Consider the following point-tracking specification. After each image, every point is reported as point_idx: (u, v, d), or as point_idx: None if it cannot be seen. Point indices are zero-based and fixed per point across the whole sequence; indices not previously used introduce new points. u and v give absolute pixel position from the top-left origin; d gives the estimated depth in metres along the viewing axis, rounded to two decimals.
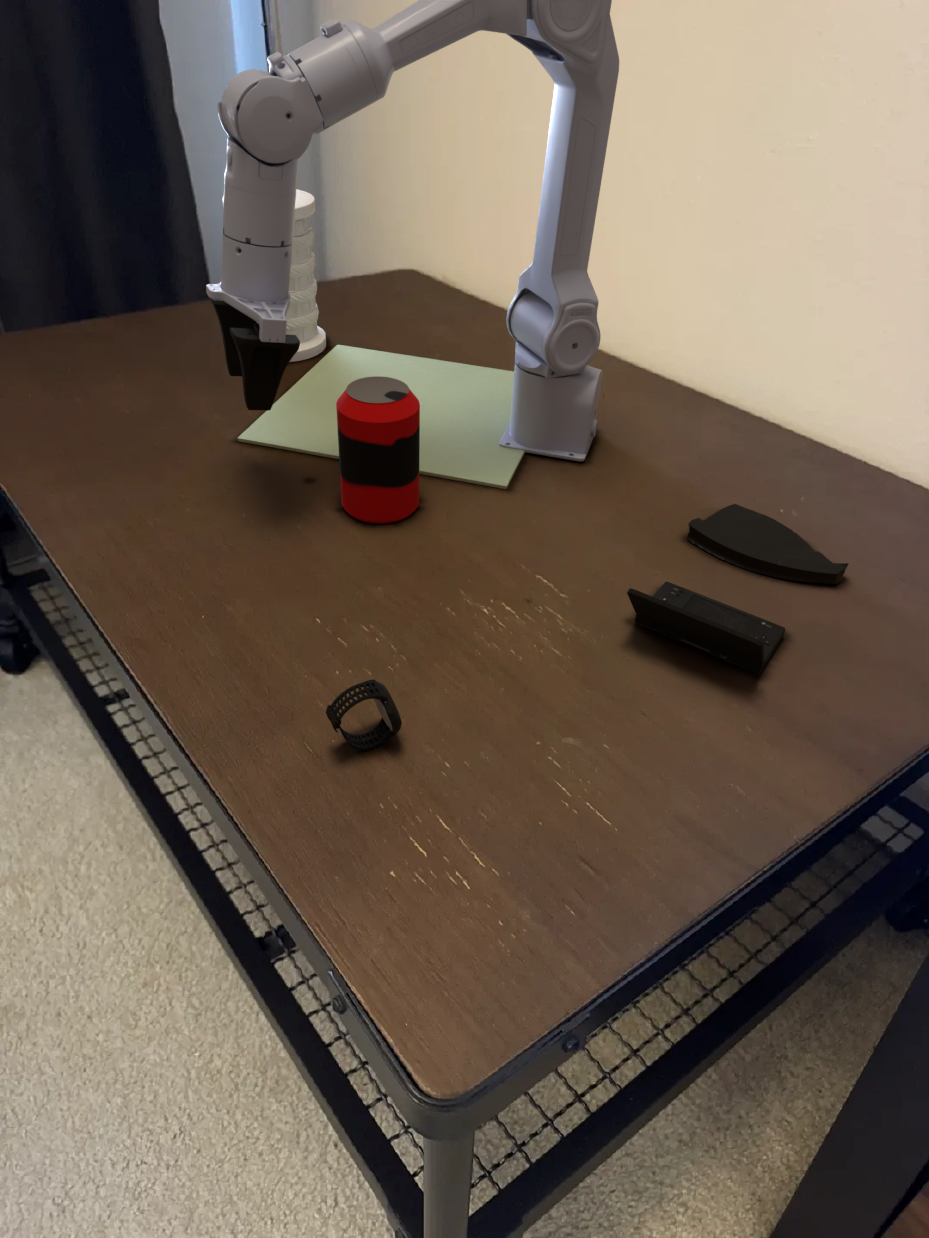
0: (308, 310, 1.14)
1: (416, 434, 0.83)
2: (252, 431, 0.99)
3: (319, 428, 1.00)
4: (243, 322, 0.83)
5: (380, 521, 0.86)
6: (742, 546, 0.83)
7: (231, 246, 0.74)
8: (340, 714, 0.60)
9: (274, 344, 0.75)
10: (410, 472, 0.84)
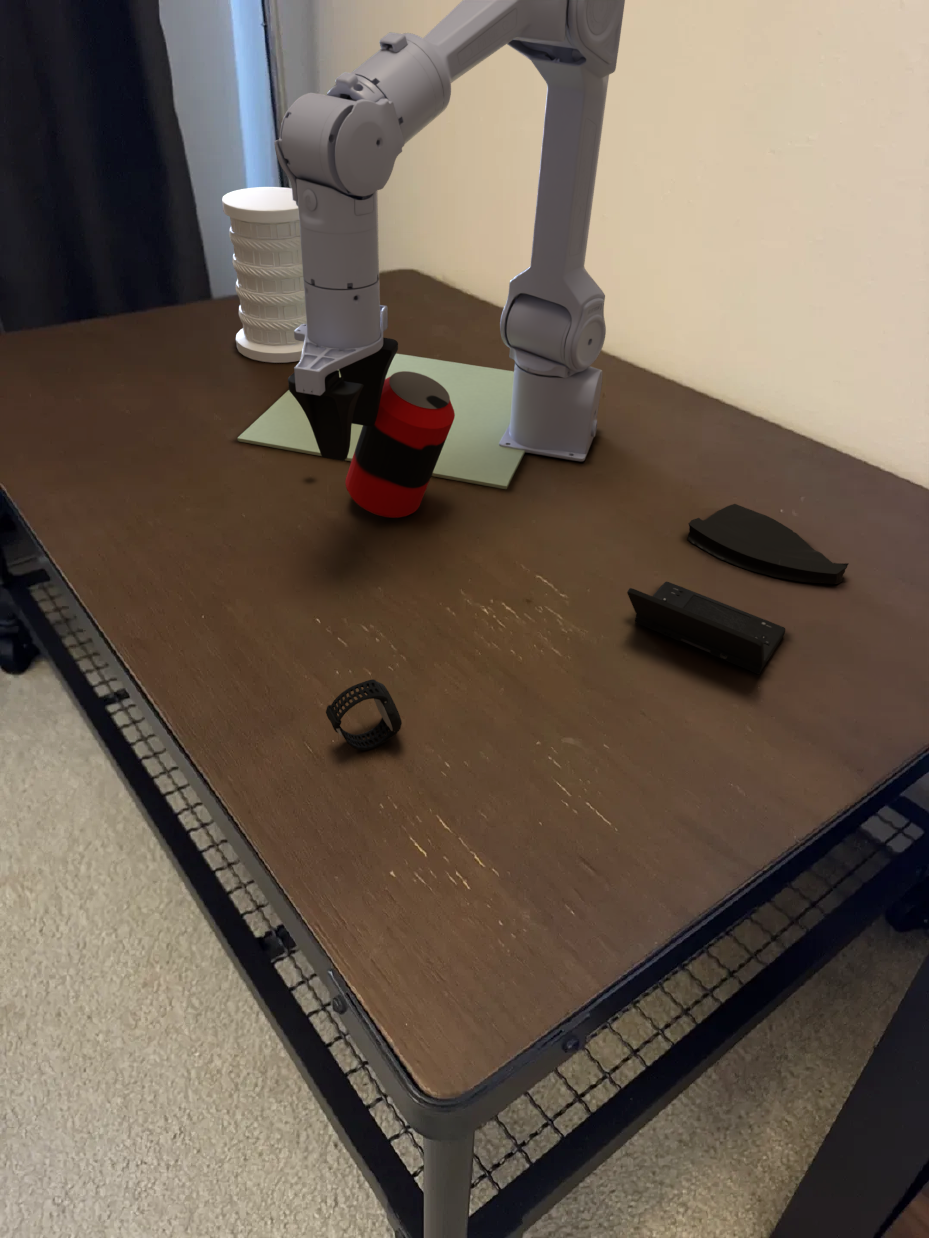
0: None
1: (443, 443, 0.82)
2: (252, 431, 0.99)
3: None
4: (360, 368, 0.76)
5: (382, 514, 0.85)
6: (742, 546, 0.83)
7: (304, 286, 0.68)
8: (340, 714, 0.60)
9: (322, 392, 0.69)
10: (425, 477, 0.84)
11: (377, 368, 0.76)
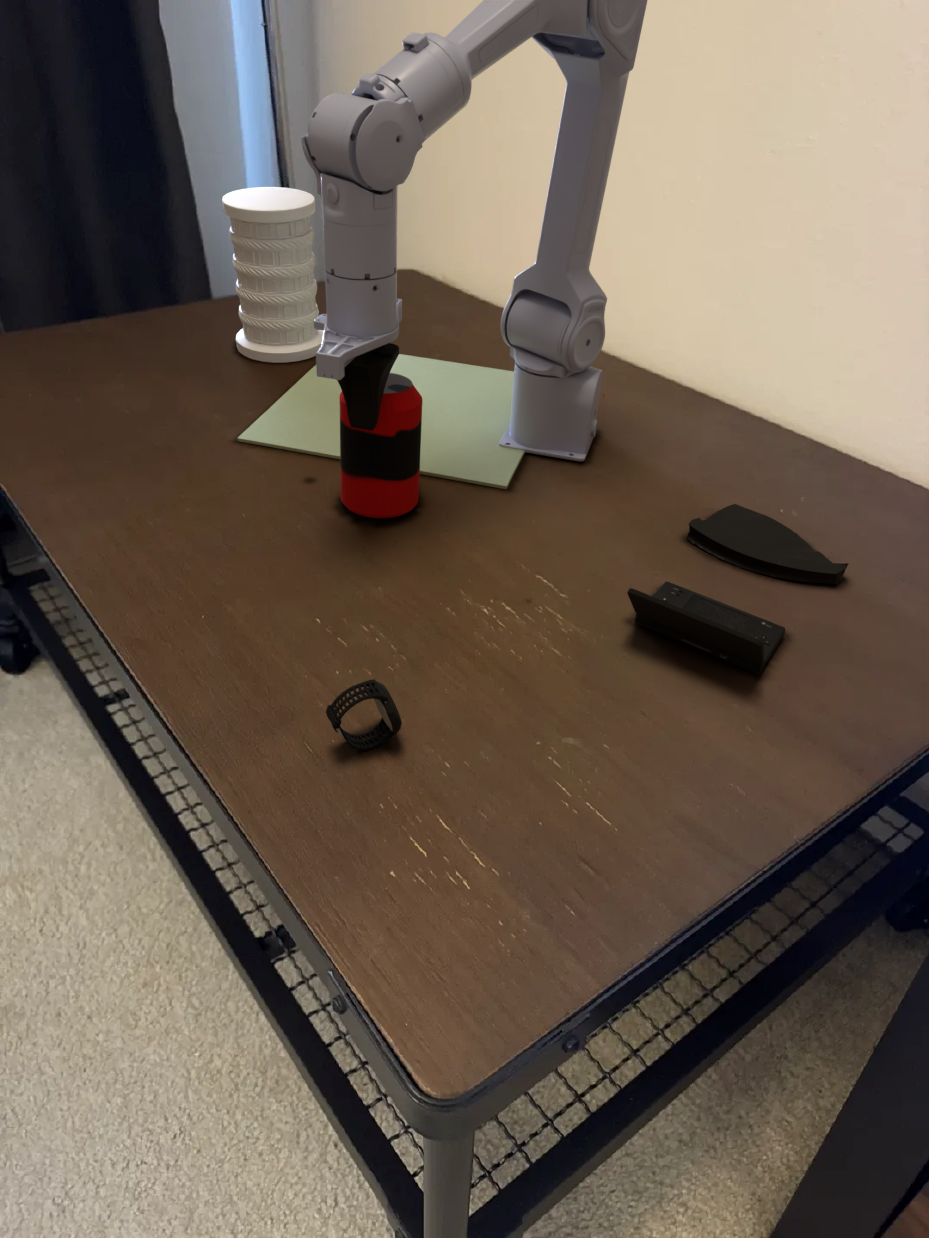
0: (308, 310, 1.14)
1: (418, 429, 0.83)
2: (252, 431, 0.99)
3: (319, 428, 1.00)
4: (361, 372, 0.77)
5: (378, 515, 0.85)
6: (742, 546, 0.83)
7: (325, 277, 0.72)
8: (340, 714, 0.60)
9: (357, 363, 0.74)
10: (410, 467, 0.84)
11: None
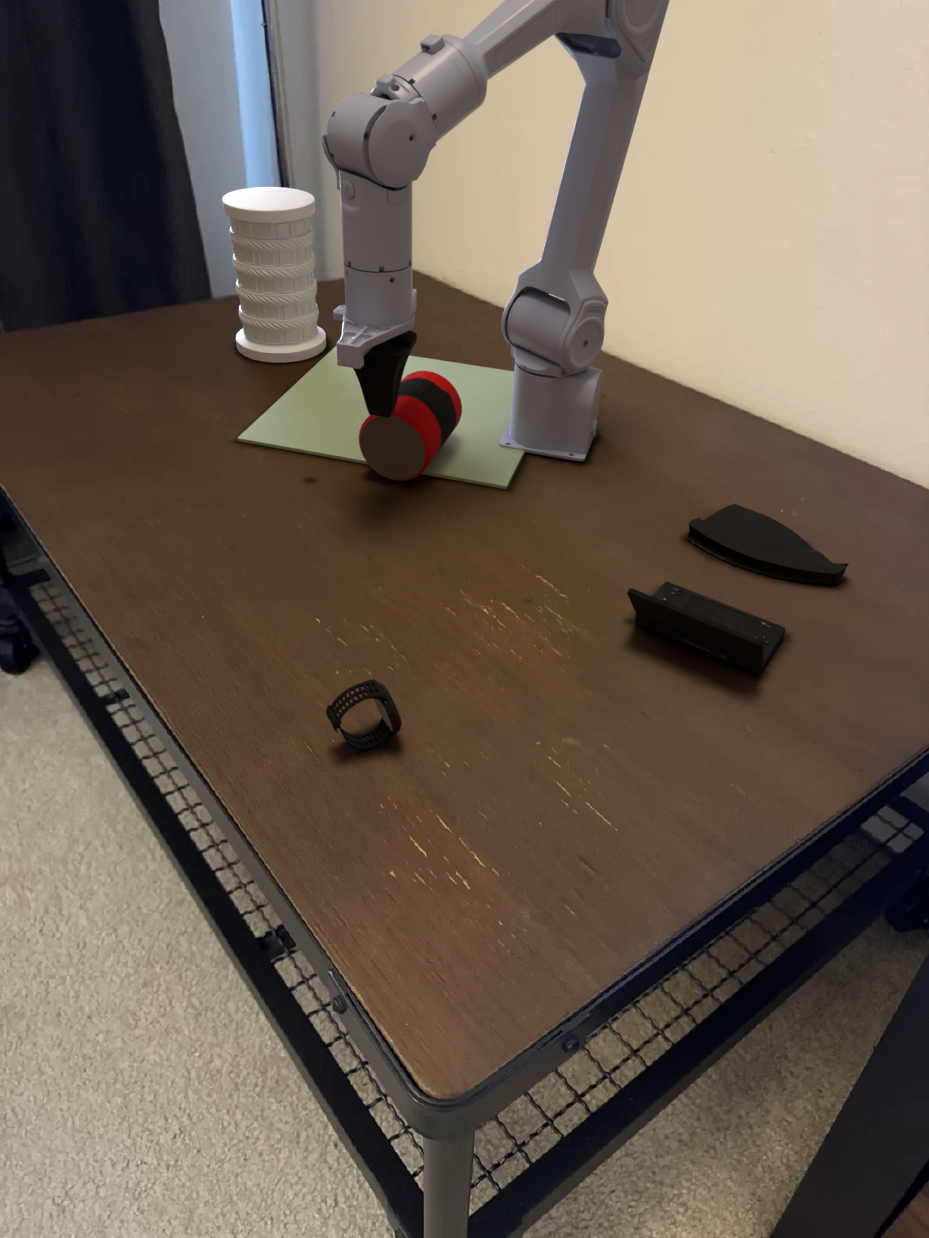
0: (308, 310, 1.14)
1: (455, 417, 0.94)
2: (252, 431, 0.99)
3: (319, 428, 1.00)
4: None
5: (405, 416, 0.87)
6: (742, 546, 0.83)
7: (344, 269, 0.75)
8: (340, 714, 0.60)
9: (373, 353, 0.77)
10: (442, 420, 0.91)
11: None
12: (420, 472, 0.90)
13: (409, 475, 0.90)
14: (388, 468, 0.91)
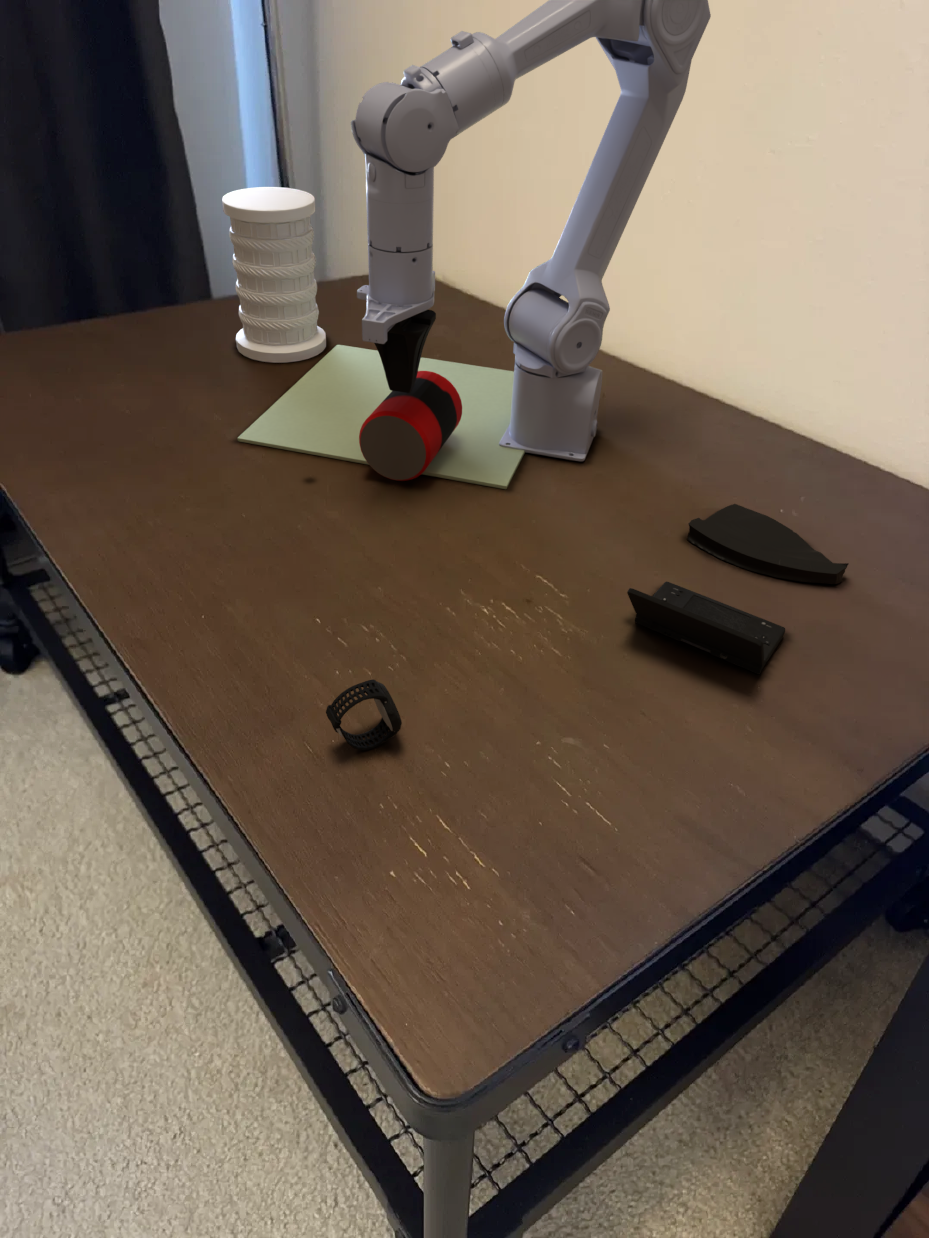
0: (308, 310, 1.14)
1: (455, 417, 0.94)
2: (252, 431, 0.99)
3: (319, 428, 1.00)
4: None
5: (406, 416, 0.87)
6: (742, 546, 0.83)
7: (368, 250, 0.79)
8: (340, 714, 0.60)
9: (395, 331, 0.81)
10: (442, 421, 0.91)
11: None
12: (420, 472, 0.90)
13: (409, 476, 0.90)
14: (388, 468, 0.91)
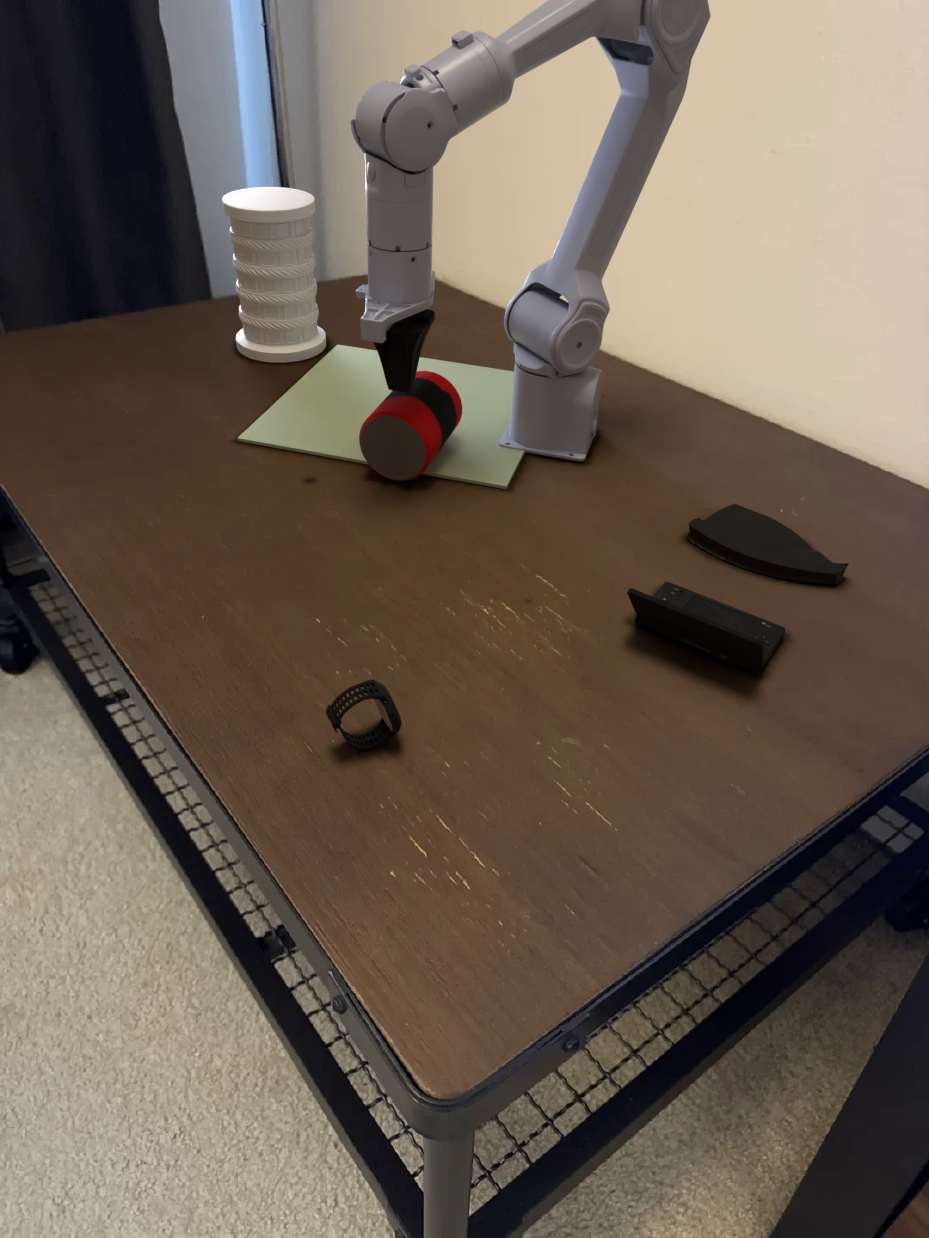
0: (308, 310, 1.14)
1: (455, 417, 0.94)
2: (252, 431, 0.99)
3: (319, 428, 1.00)
4: None
5: (406, 416, 0.87)
6: (742, 546, 0.83)
7: (367, 249, 0.79)
8: (340, 714, 0.60)
9: (394, 330, 0.81)
10: (442, 421, 0.91)
11: None
12: (420, 472, 0.90)
13: (409, 476, 0.90)
14: (388, 468, 0.91)
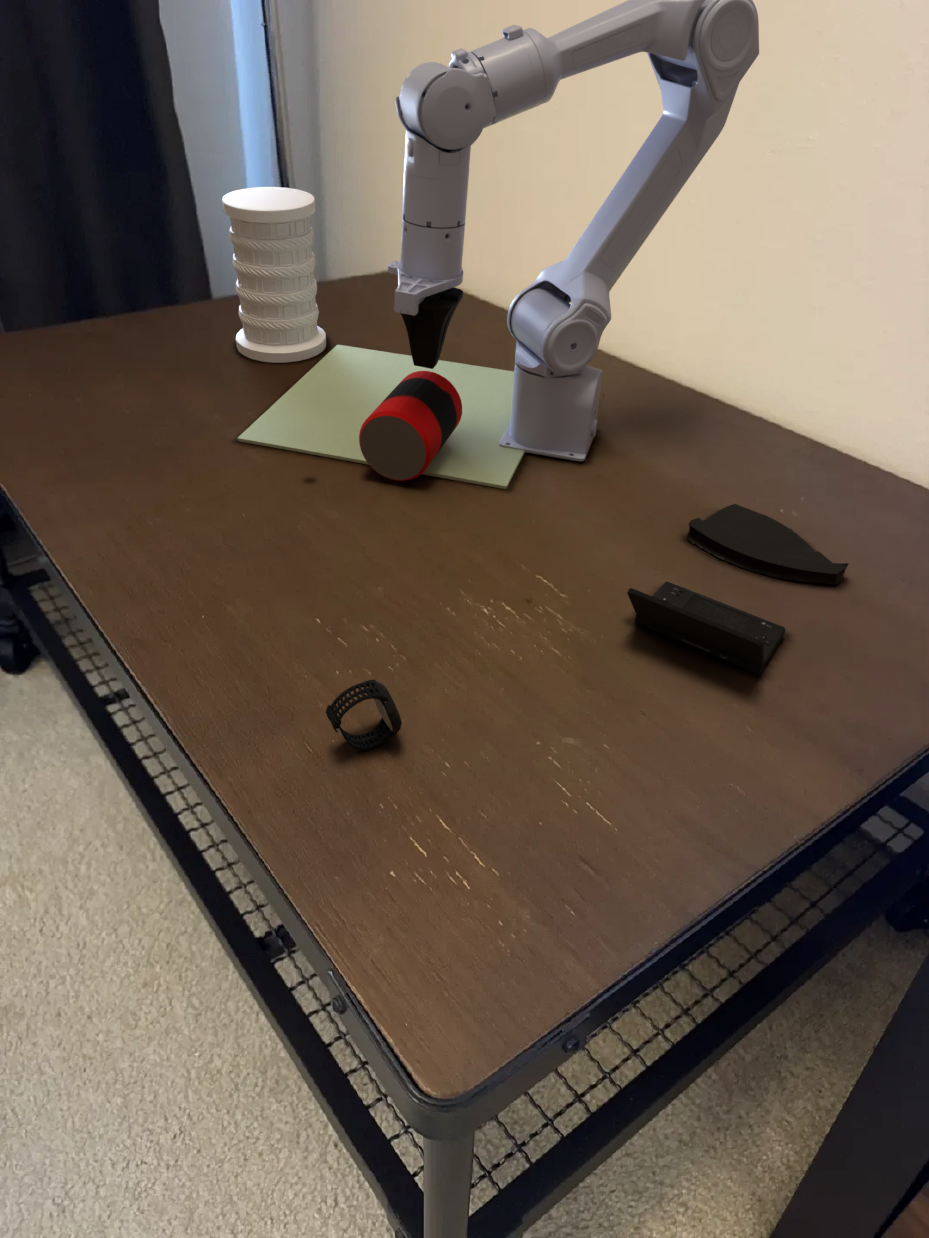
0: (308, 310, 1.14)
1: (455, 417, 0.94)
2: (252, 431, 0.99)
3: (319, 428, 1.00)
4: None
5: (406, 416, 0.87)
6: (742, 546, 0.83)
7: (402, 225, 0.81)
8: (340, 714, 0.60)
9: (424, 305, 0.84)
10: (442, 421, 0.91)
11: None
12: (420, 472, 0.90)
13: (409, 476, 0.90)
14: (388, 468, 0.91)
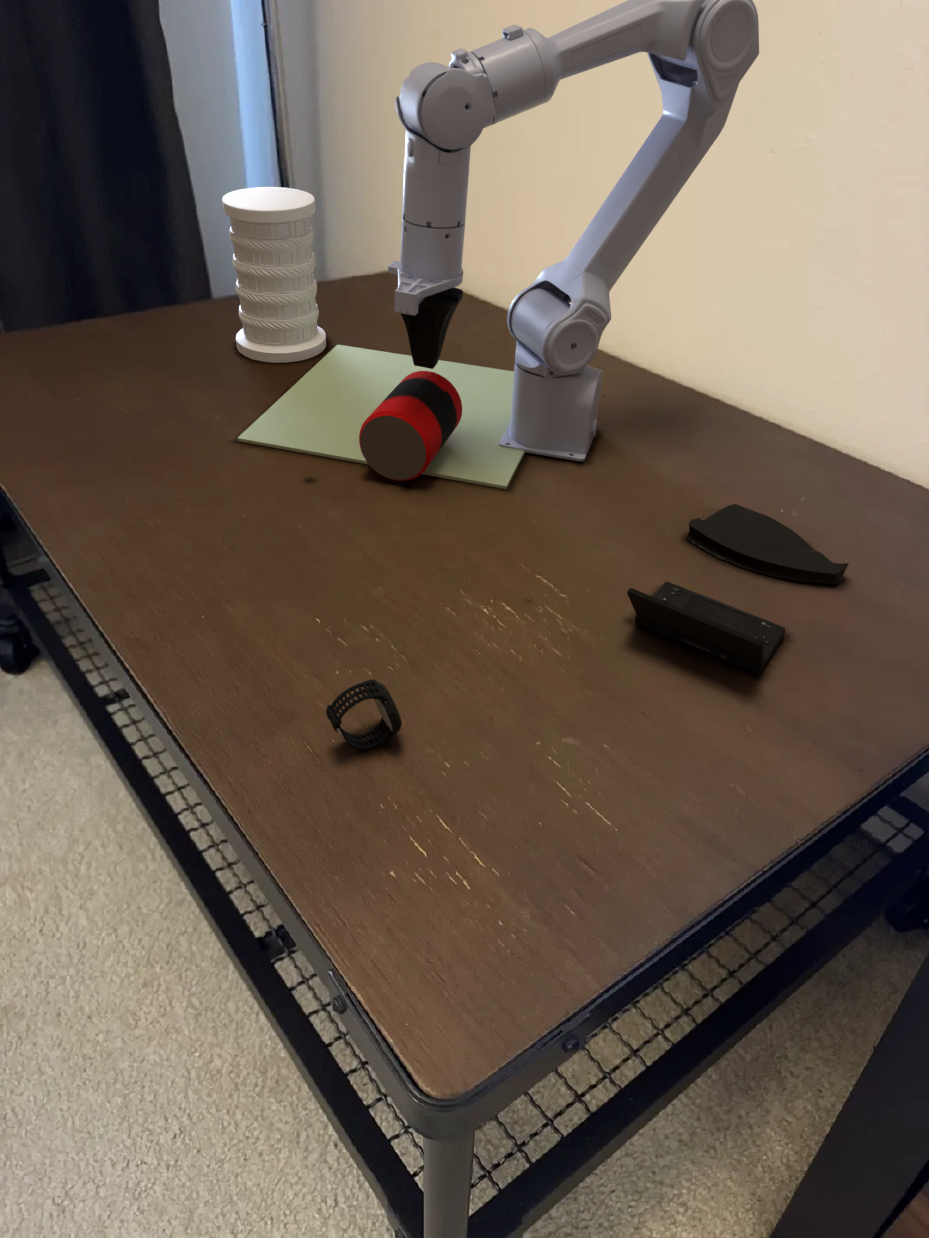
0: (308, 310, 1.14)
1: (455, 417, 0.94)
2: (252, 431, 0.99)
3: (319, 428, 1.00)
4: None
5: (406, 416, 0.87)
6: (742, 546, 0.83)
7: (402, 225, 0.81)
8: (340, 714, 0.60)
9: (424, 305, 0.84)
10: (442, 421, 0.91)
11: None
12: (420, 472, 0.90)
13: (409, 476, 0.90)
14: (388, 468, 0.91)
